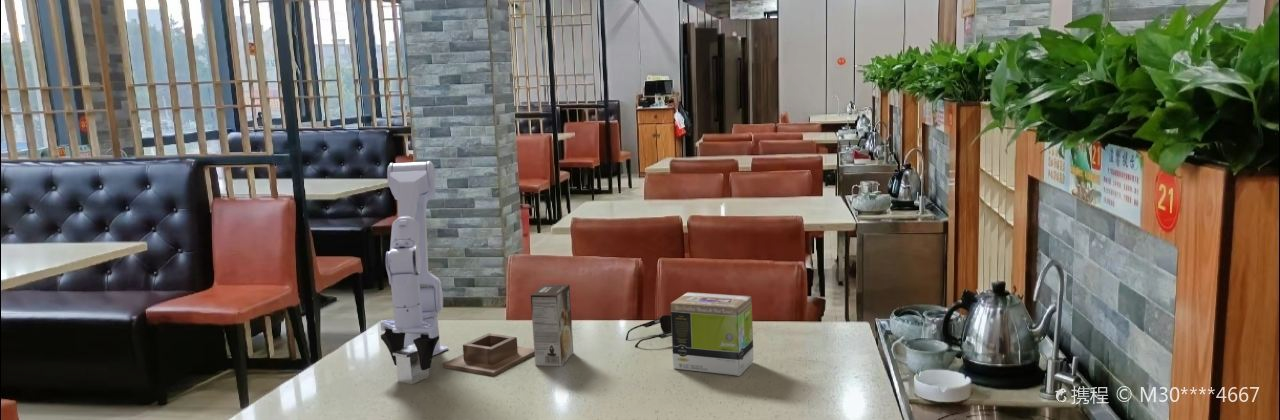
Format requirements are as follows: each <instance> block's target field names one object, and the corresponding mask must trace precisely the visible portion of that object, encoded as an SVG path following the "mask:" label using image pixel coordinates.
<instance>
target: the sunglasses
mask: <svg viewBox="0 0 1280 420" xmlns="http://www.w3.org/2000/svg"><path fill="white" fill-rule="evenodd" d="M658 324H660V329H661V332H663V333H660V334H657V335H654V336H651V337H645V338H642V339H639V341H637V343H636V344H635V345H634V348H638V346H639V344H640V343H641V342H643V341H647V340H652V339H655V338H660V339H665V338H669V337H672V326H671V314H663V315H662V316H661V317H659V318H656V319H654V320H651V321H648V322H645V323H642V324H639V325H636V326H634V327H632V328H630V329H629V330H628V331H627V333H626V336H625V341H628V340H629V335H630V333H631V332H632V331H633V330H635V329H638V328H641V327H644V328H650V327H653V326H655V325H658Z"/></svg>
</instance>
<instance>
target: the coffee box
mask: <svg viewBox="0 0 1280 420" xmlns="http://www.w3.org/2000/svg"><path fill="white" fill-rule="evenodd" d="M530 304H531V305H530V306H531V308H530V309H531V320H532V333H533V335H532V336H533V349H534V353H535V355H534V365H535V366H539V367H541V366H542V367H544V366H545V367H549V366H550V367H562V366H564V364H565V363H566V362H567V361H568V360H569V358H570V357H571V356H572V355H573V354H574V340H573V339H574V336H573V322H572V321H573V320H572V306H571V305H572V303H571V290H570V284H542V285H541V286H540V287H539V288H537V290H535V291H534V292H533V293H531V294H530Z"/></svg>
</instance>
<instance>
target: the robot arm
mask: <svg viewBox="0 0 1280 420" xmlns="http://www.w3.org/2000/svg"><path fill="white" fill-rule="evenodd" d="M386 173H387V174H386V176H387V185H388V188H390V191H391V194H392V196H393V197H394V200H397V218H396V219H395V220H394V221H392V223H391V234H390V245H389V246H390V247H389V251H388V250H387V251H386V253H385V269H386V272H387V276H388V284H389V285H390V286H391V289H390V290H391V297H392V298H391V300H392V309H393V310H392V311H393V319H385V320H382V321H380V330H381V331H382V332H384V333H382V334H381V335H380V340H382V341H383V344H385V345H386V348H387V350H388V351H389V354H390V356H391V360H392V361H393V364H394V366H396V367H397V364H396V356H393V352H395V351H398V350H400V349H403V348H405V347H407V346H410V345H412V344H415V346H416V348H417V351H418V354H419V361H420V367H421V370H426V369H428V370H429V369H430V368H431V365H432V360H433V356H436V355H438V354H440V353H442V352H445V351H448V350H449V347H448V346H447V345H446V346H445V345H441V343H440V341H441V340H440V329H439V317H438V316H439V315H438V313H439V314H440V313H441V311H443V310H444V309H443V308H444V295H443V294H444V293H443V289H442V282H441V280H440V278H439V277H438V276H436V275H435V274H433V273H431V272H430V271H429V253H428V252H429V251H428V229H427V227H428V226H427V206H428V202H429V201H430V200H432V199H433V198H435V194H436V179H435V178H436V174H435V167H434V164H433V162H432V161H431V160H427V161H415V162H396V163H394V162H390V163H389V165H388V166H387V172H386ZM425 285H426V286H425ZM427 285H430V286H427ZM431 285H432V286H431Z"/></svg>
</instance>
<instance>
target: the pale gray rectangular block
mask: <svg viewBox="0 0 1280 420" xmlns="http://www.w3.org/2000/svg"><path fill="white" fill-rule="evenodd" d="M393 356H396V364H397V366H396V374H397V382H400V383H404V384H410V385H414V384H416V383H418V382H420V381H422V380H424V379H426V378H428V377H430V374H429V373H430V372H429V371H430V370H429V368H428V369H426V370H421V367H420V361H419V354H418V351H417V348H416V346H415V344H412V345H410V346H407V347H405V348H403V349H400V350H398V351H395V352H393Z"/></svg>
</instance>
